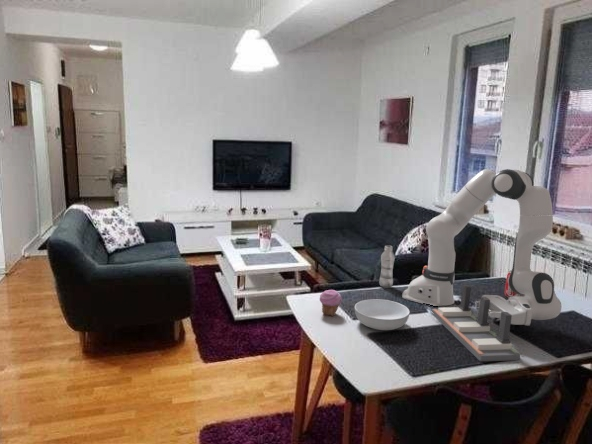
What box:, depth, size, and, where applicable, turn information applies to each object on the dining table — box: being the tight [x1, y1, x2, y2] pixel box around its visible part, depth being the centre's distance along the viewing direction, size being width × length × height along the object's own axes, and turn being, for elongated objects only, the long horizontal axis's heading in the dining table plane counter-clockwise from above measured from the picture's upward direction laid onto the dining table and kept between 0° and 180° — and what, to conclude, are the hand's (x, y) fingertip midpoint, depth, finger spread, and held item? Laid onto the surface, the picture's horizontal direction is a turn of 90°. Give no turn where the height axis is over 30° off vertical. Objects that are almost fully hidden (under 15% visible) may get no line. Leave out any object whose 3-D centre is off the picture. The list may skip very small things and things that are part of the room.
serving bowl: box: [354, 298, 411, 331], centre depth 179 cm, size 21×21×7 cm
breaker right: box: [495, 312, 512, 344], centre depth 159 cm, size 3×4×10 cm
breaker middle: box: [476, 296, 490, 326], centre depth 173 cm, size 3×4×10 cm
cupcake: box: [319, 289, 343, 317], centre depth 188 cm, size 9×9×10 cm
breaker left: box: [457, 283, 472, 311], centre depth 187 cm, size 3×4×10 cm
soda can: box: [504, 269, 522, 299], centre depth 214 cm, size 7×7×12 cm
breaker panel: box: [431, 306, 521, 362], centre depth 174 cm, size 14×40×4 cm, turn 7°
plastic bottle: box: [378, 244, 396, 288], centre depth 221 cm, size 6×7×20 cm
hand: (482, 308), depth 173 cm, fingers open, 8 cm apart
